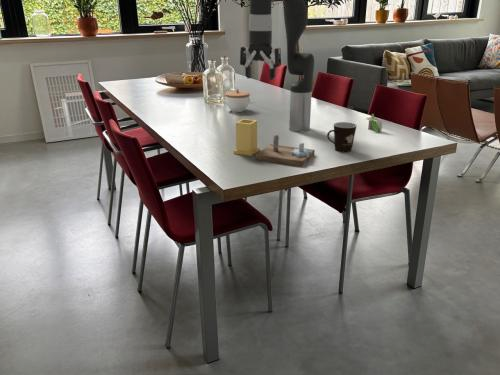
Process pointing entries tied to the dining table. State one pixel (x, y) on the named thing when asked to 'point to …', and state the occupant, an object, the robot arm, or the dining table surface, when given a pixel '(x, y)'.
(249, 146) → the yellow hollow block
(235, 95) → the lidded bowl
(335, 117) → the dining table surface
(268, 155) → the gear board
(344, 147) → the coffee mug
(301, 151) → the gear
